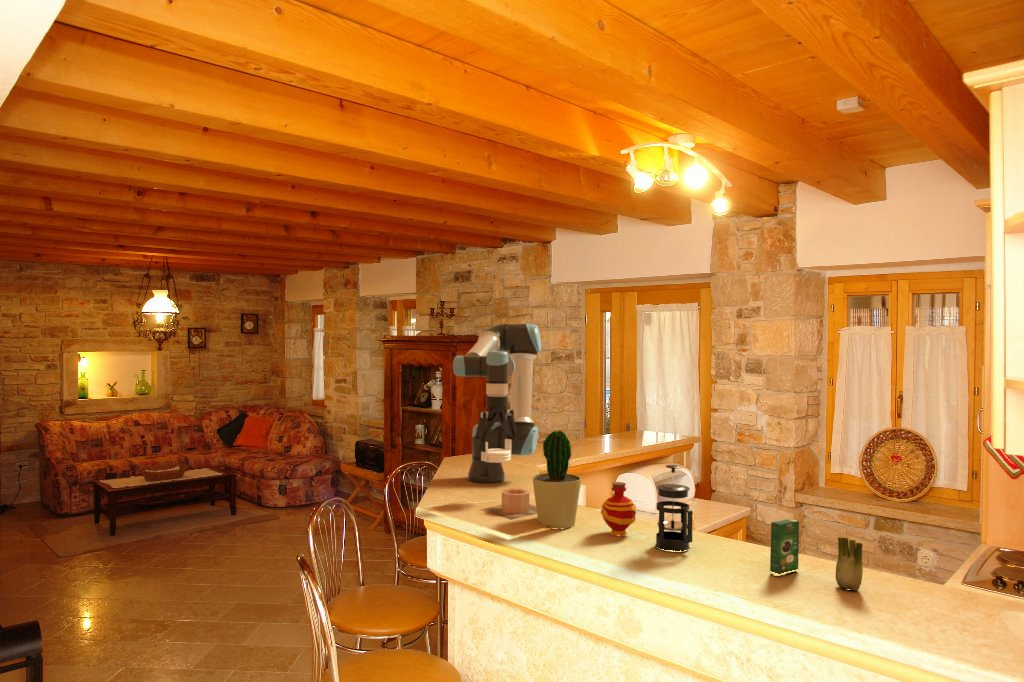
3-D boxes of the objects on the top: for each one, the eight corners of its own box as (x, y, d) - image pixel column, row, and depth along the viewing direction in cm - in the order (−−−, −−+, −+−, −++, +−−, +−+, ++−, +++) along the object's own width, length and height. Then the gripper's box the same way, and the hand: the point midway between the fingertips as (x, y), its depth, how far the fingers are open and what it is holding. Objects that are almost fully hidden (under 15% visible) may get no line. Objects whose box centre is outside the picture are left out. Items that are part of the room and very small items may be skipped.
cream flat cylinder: (508, 457, 243) (508, 448, 243) (512, 462, 233) (512, 452, 233) (480, 458, 241) (480, 448, 241) (483, 463, 231) (483, 453, 231)
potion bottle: (614, 526, 210) (615, 478, 210) (642, 533, 203) (643, 483, 203) (593, 533, 203) (594, 483, 203) (621, 541, 196) (622, 489, 196)
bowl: (516, 505, 232) (516, 487, 232) (534, 510, 225) (535, 492, 225) (496, 509, 226) (496, 491, 226) (514, 514, 219) (514, 496, 219)
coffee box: (789, 568, 173) (790, 517, 173) (799, 572, 171) (800, 519, 171) (769, 574, 169) (769, 521, 169) (779, 577, 167) (779, 524, 166)
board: (519, 504, 237) (519, 501, 237) (551, 513, 225) (551, 510, 225) (479, 513, 225) (479, 509, 225) (511, 523, 213) (511, 519, 213)
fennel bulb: (865, 593, 157) (866, 541, 157) (845, 594, 156) (845, 542, 156) (851, 584, 162) (851, 534, 162) (831, 585, 162) (831, 534, 162)
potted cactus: (565, 515, 223) (566, 424, 223) (590, 527, 209) (591, 430, 209) (523, 521, 216) (524, 426, 216) (546, 533, 202) (547, 433, 202)
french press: (646, 545, 192) (647, 463, 192) (669, 540, 197) (670, 460, 197) (678, 556, 182) (679, 470, 182) (701, 550, 187) (702, 467, 187)
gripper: (514, 393, 247) (513, 454, 247) (464, 396, 232) (463, 461, 232) (528, 394, 242) (527, 457, 242) (478, 397, 227) (477, 464, 227)
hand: (496, 459), depth 237 cm, fingers closed on cream flat cylinder, 10 cm apart
